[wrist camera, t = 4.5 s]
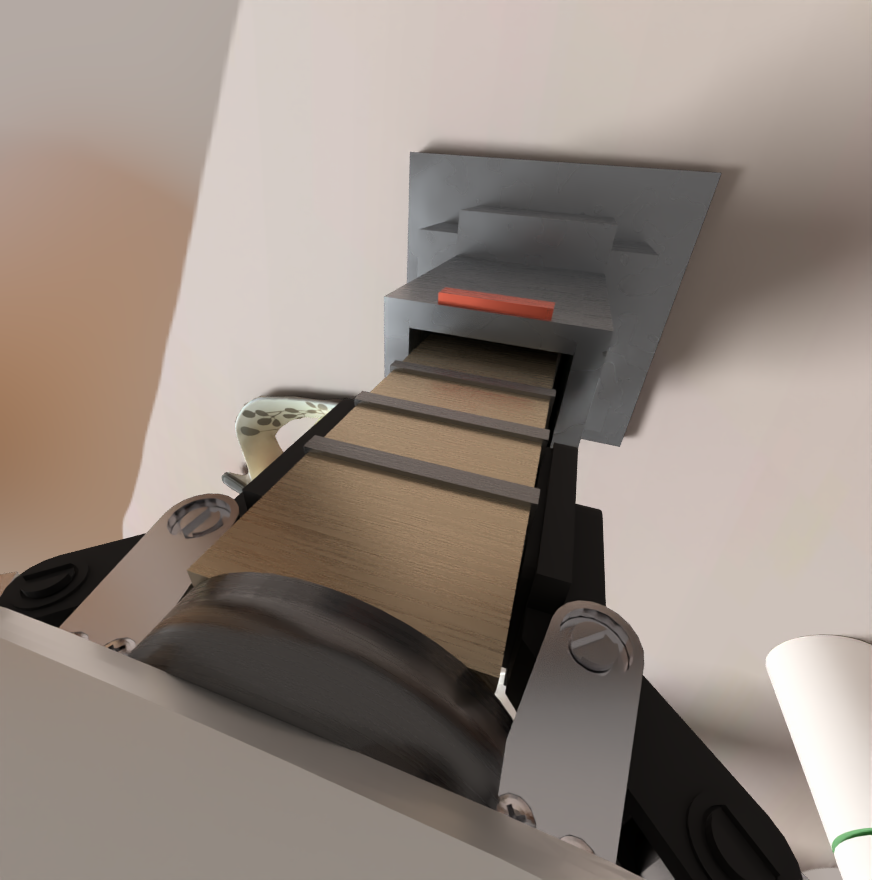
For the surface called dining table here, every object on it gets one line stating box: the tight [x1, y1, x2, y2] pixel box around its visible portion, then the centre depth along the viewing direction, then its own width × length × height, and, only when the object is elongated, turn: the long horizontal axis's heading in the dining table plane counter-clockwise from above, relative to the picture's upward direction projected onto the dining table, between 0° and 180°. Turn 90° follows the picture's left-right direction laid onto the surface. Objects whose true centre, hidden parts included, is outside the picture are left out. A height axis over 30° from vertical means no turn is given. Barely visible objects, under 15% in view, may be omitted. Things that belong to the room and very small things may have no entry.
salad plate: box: [222, 396, 342, 494], centre depth 35 cm, size 19×18×5 cm
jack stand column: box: [127, 332, 561, 810], centre depth 14 cm, size 5×5×22 cm
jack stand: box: [384, 152, 721, 448], centre depth 18 cm, size 14×14×13 cm
